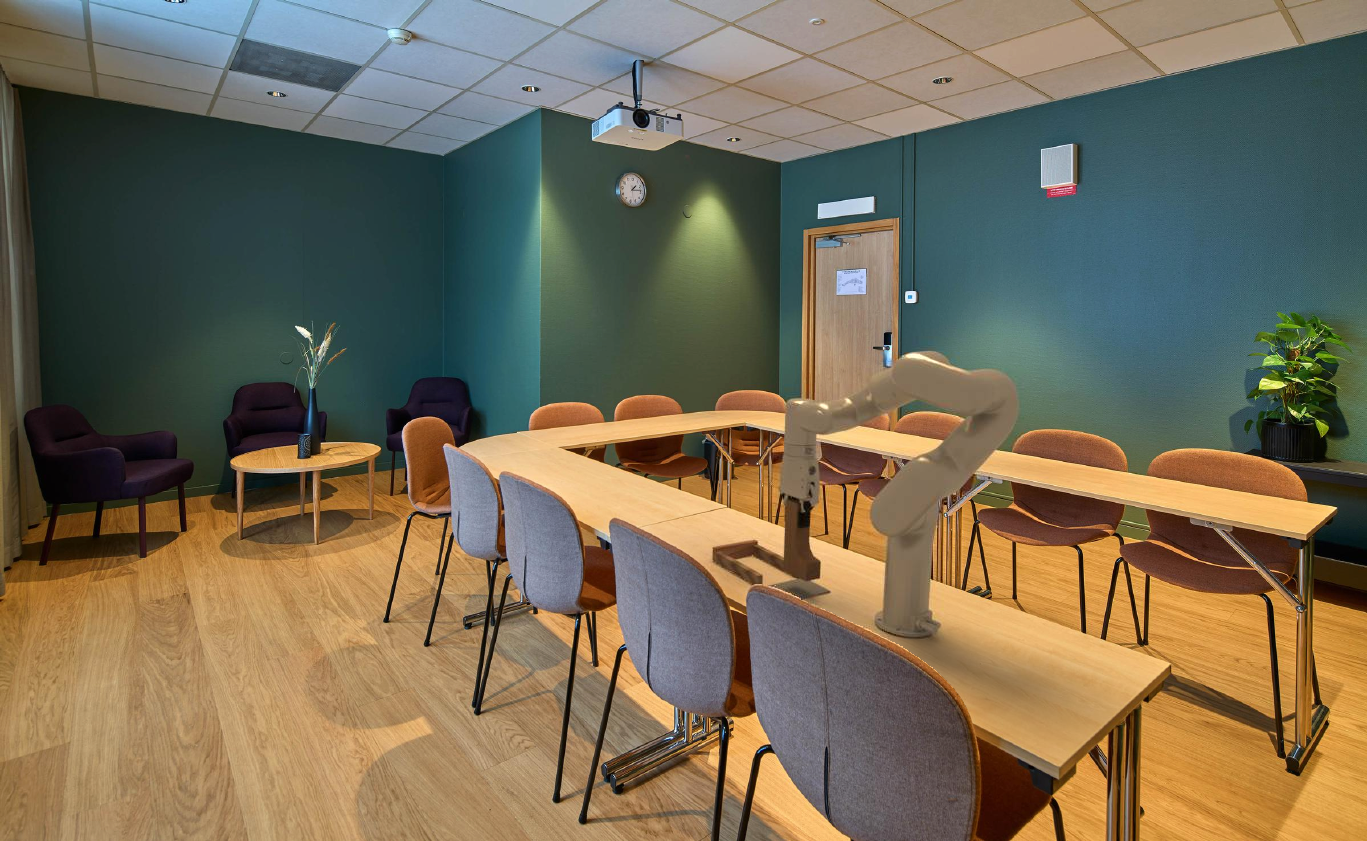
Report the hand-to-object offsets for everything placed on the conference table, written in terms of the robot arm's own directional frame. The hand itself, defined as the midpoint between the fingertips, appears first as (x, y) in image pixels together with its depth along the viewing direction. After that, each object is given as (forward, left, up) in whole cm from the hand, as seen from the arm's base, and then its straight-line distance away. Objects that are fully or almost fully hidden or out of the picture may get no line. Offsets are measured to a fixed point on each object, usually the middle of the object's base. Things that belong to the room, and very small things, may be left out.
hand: (797, 523), depth 171 cm
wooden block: (-2, 0, -12) cm, 13 cm away
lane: (+16, 0, -17) cm, 23 cm away
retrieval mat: (0, 0, -17) cm, 17 cm away
